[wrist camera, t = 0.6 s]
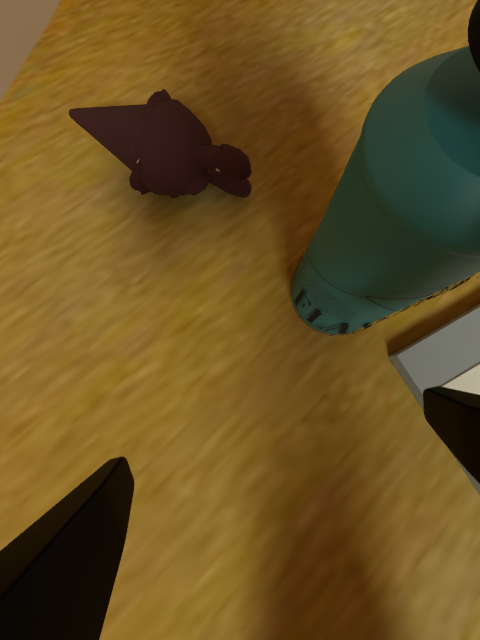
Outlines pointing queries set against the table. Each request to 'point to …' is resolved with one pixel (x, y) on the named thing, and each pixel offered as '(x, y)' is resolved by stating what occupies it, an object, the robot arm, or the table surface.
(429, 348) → the grey flat rectangular block
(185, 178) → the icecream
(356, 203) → the beverage bottle
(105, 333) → the table surface
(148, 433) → the table surface
